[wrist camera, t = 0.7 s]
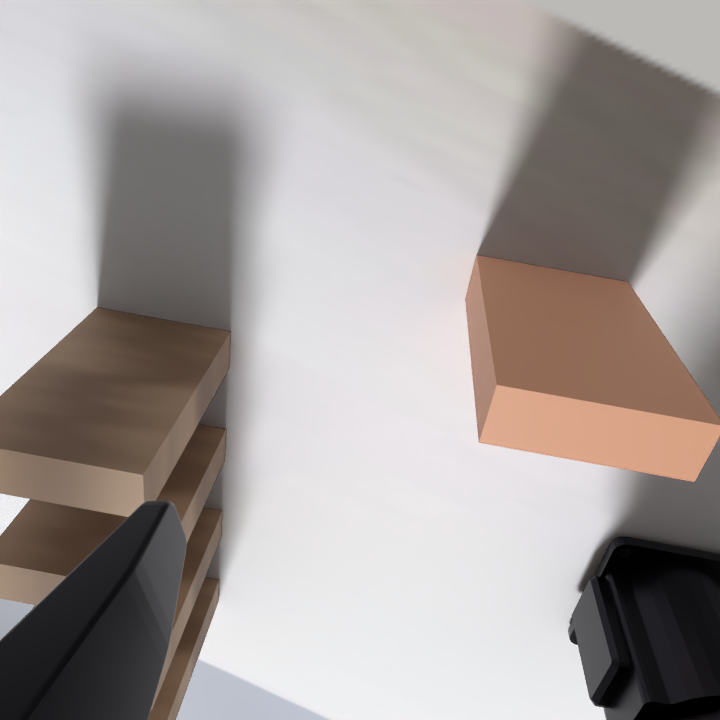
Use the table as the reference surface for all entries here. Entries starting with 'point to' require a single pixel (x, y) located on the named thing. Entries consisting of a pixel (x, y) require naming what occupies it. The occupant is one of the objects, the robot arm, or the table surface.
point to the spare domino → (581, 373)
